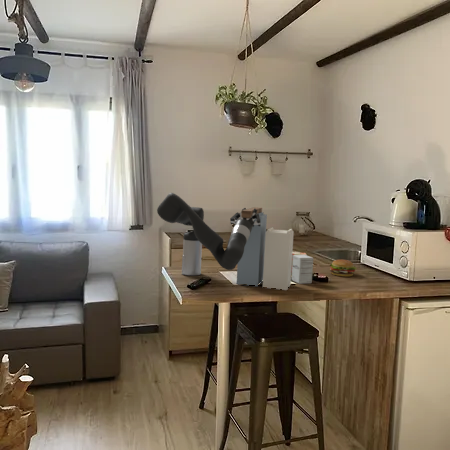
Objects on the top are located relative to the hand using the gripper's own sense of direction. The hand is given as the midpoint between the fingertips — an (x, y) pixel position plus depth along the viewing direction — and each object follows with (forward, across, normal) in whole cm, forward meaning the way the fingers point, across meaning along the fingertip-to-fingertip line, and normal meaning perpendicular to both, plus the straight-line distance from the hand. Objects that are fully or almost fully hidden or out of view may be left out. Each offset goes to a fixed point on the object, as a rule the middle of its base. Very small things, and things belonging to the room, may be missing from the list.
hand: (250, 209), depth 213 cm
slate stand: (-10, 0, -34) cm, 36 cm away
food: (+25, +41, -55) cm, 73 cm away
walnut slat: (+2, 0, -5) cm, 5 cm away
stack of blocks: (+9, +12, -46) cm, 48 cm away
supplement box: (+1, +22, -41) cm, 47 cm away
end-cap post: (-12, +13, -34) cm, 38 cm away
